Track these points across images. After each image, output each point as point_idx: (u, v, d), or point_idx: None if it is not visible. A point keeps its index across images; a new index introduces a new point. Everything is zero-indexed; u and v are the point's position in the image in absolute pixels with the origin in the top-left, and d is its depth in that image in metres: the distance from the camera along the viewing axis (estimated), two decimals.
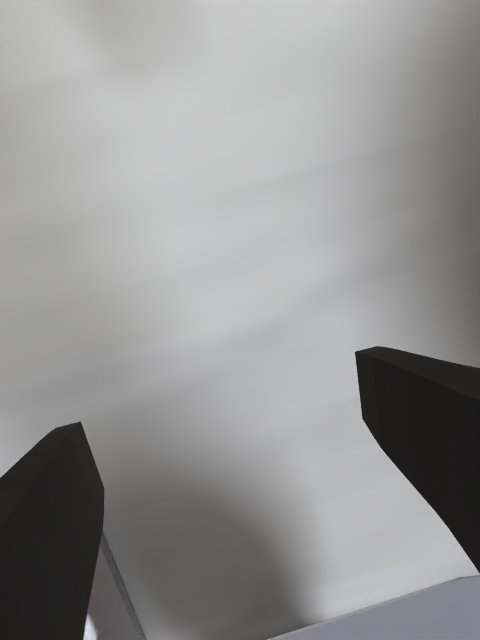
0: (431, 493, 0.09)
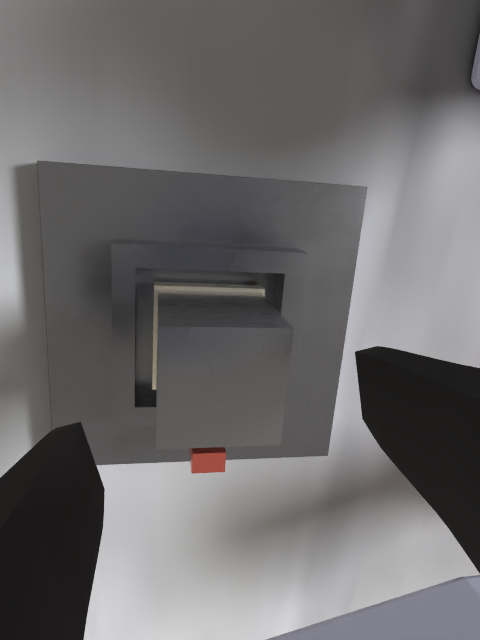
0: (431, 493, 0.09)
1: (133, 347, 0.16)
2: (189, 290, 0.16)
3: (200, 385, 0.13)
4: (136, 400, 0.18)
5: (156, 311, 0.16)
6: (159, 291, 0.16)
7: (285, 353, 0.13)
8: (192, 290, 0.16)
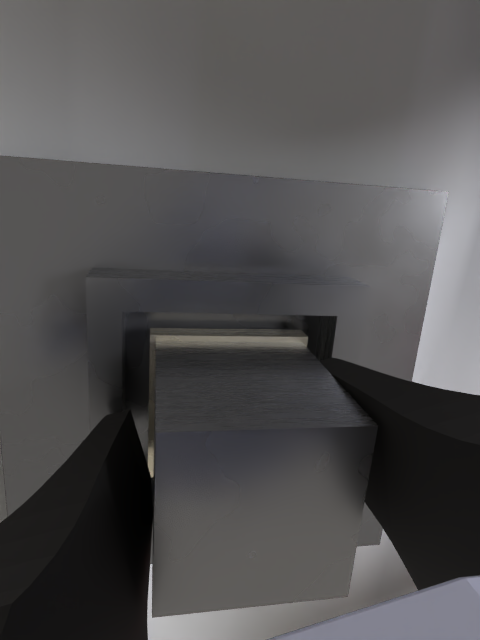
0: (378, 509, 0.09)
1: None
2: (201, 341, 0.11)
3: (224, 518, 0.08)
4: None
5: (153, 371, 0.11)
6: (157, 344, 0.11)
7: (363, 464, 0.08)
8: (205, 341, 0.11)
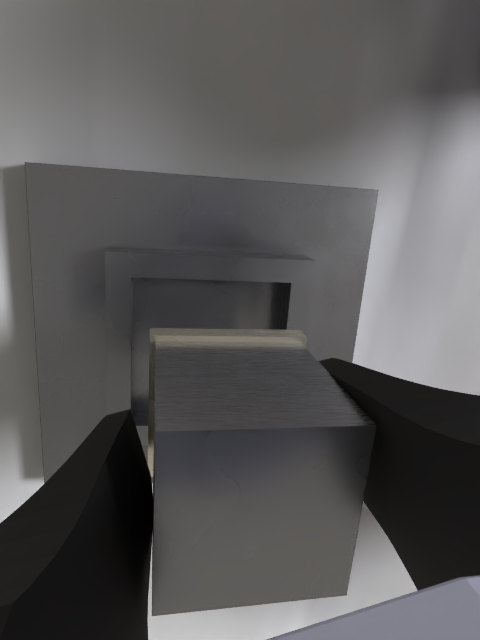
0: (377, 509, 0.09)
1: (129, 362, 0.15)
2: (201, 341, 0.11)
3: (223, 517, 0.08)
4: None
5: (153, 371, 0.11)
6: (157, 345, 0.11)
7: (361, 463, 0.08)
8: (204, 341, 0.11)
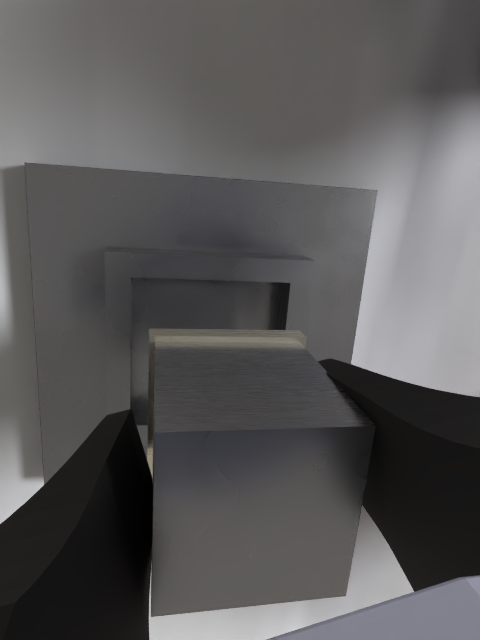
0: (374, 510, 0.09)
1: (128, 362, 0.15)
2: (200, 342, 0.11)
3: (222, 518, 0.08)
4: None
5: (152, 372, 0.11)
6: (156, 345, 0.11)
7: (360, 464, 0.08)
8: (204, 341, 0.11)
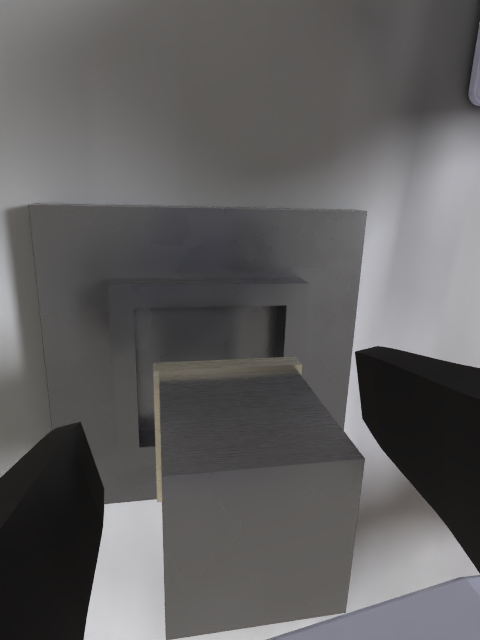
0: (431, 493, 0.09)
1: (135, 388, 0.16)
2: (201, 374, 0.12)
3: (227, 549, 0.08)
4: (141, 439, 0.17)
5: (158, 404, 0.12)
6: (160, 380, 0.12)
7: (352, 493, 0.09)
8: (205, 374, 0.12)
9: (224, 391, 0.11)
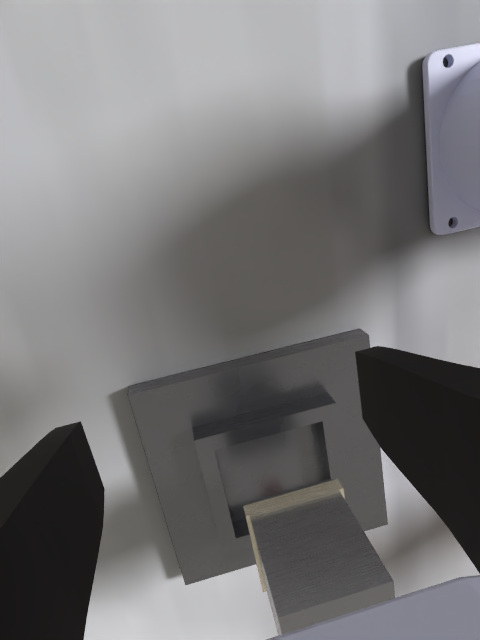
0: (431, 493, 0.09)
1: (225, 500, 0.22)
2: (277, 510, 0.18)
3: None
4: (234, 529, 0.23)
5: (252, 534, 0.18)
6: (252, 523, 0.17)
7: None
8: (279, 509, 0.18)
9: (296, 527, 0.17)
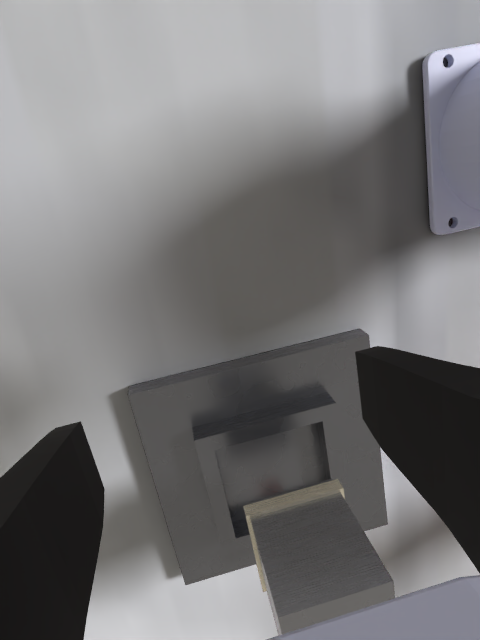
0: (431, 493, 0.09)
1: (225, 500, 0.22)
2: (277, 510, 0.18)
3: None
4: (234, 529, 0.23)
5: (252, 534, 0.18)
6: (252, 523, 0.17)
7: None
8: (279, 509, 0.18)
9: (296, 527, 0.17)
